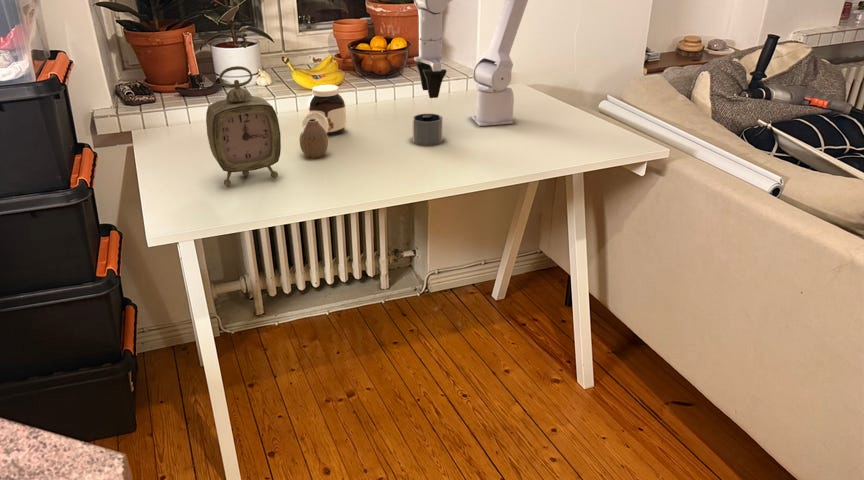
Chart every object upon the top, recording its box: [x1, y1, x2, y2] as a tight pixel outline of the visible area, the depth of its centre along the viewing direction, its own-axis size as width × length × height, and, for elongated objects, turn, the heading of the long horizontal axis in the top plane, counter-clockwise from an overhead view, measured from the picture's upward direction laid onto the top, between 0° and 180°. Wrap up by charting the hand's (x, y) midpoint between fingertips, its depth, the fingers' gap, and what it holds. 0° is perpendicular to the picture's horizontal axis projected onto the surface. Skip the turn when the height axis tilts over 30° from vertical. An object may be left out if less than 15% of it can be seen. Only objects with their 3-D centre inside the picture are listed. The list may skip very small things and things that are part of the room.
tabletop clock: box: [205, 65, 282, 188], centre depth 152 cm, size 14×9×25 cm, turn 114°
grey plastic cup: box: [412, 113, 444, 147], centre depth 176 cm, size 7×7×6 cm
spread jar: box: [301, 84, 347, 137], centre depth 182 cm, size 12×11×12 cm
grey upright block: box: [423, 115, 432, 122], centre depth 176 cm, size 2×2×6 cm
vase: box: [298, 119, 329, 159], centre depth 168 cm, size 7×7×9 cm
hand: (430, 93), depth 178 cm, fingers open, 7 cm apart
